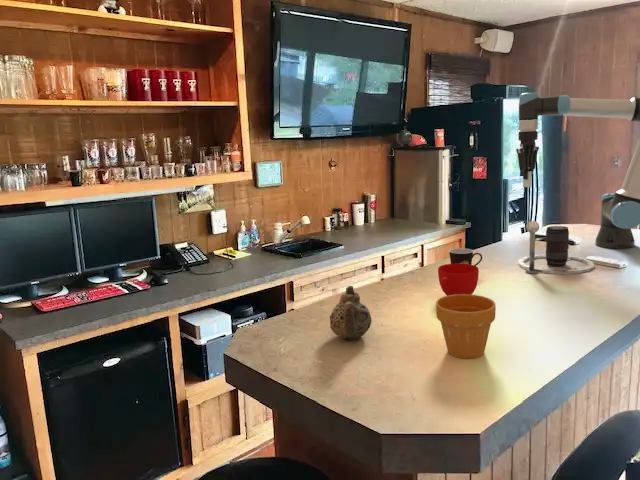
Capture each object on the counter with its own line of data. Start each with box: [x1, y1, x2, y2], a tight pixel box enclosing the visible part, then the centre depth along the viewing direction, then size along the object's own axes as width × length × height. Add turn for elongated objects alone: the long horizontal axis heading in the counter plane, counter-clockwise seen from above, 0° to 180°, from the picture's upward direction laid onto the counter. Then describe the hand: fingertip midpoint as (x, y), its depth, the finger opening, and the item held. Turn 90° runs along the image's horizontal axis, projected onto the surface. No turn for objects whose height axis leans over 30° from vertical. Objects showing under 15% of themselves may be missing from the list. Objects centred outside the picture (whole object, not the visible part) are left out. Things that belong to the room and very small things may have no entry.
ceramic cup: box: [437, 263, 480, 296], centre depth 173 cm, size 13×17×10 cm
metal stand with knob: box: [524, 220, 547, 275], centre depth 199 cm, size 11×4×20 cm, turn 125°
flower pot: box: [435, 294, 497, 360], centre depth 131 cm, size 14×14×13 cm
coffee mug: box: [448, 247, 483, 267], centre depth 197 cm, size 12×9×10 cm
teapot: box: [329, 285, 373, 340], centre depth 144 cm, size 21×12×15 cm, turn 178°
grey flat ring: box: [517, 253, 595, 275], centre depth 207 cm, size 27×27×1 cm
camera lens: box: [545, 225, 570, 268], centre depth 206 cm, size 8×8×15 cm
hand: (526, 186), depth 226 cm, fingers closed
